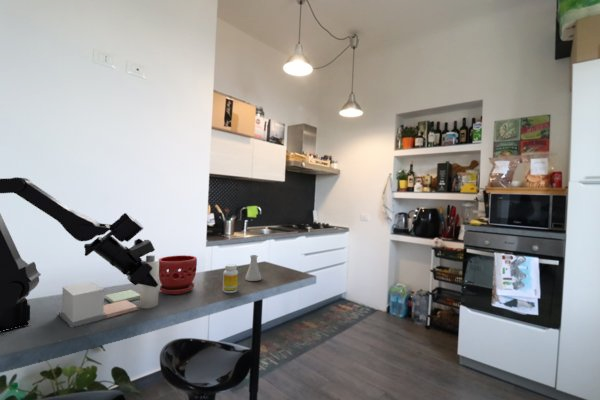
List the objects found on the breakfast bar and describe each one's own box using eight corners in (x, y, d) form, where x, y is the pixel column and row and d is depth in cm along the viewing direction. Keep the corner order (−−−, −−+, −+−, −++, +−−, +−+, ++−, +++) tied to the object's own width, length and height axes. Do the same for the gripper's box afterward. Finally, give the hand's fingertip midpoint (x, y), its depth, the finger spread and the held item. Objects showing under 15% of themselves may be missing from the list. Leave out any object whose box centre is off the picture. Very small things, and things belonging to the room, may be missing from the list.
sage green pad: (114, 304, 91) (114, 301, 91) (104, 298, 96) (105, 295, 96) (141, 298, 97) (141, 295, 97) (131, 292, 102) (131, 289, 102)
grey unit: (71, 327, 75) (72, 296, 75) (58, 314, 82) (59, 286, 82) (106, 318, 81) (107, 289, 81) (92, 306, 89) (92, 280, 88)
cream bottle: (144, 309, 88) (145, 258, 87) (137, 305, 91) (138, 255, 91) (161, 305, 92) (162, 255, 91) (153, 301, 95) (154, 253, 94)
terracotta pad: (106, 318, 81) (106, 314, 81) (96, 310, 86) (96, 306, 86) (137, 309, 87) (137, 306, 87) (126, 302, 92) (126, 299, 92)
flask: (242, 277, 125) (243, 254, 124) (258, 276, 128) (259, 253, 128) (247, 282, 118) (247, 258, 118) (264, 280, 121) (264, 257, 121)
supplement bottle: (221, 289, 108) (221, 264, 108) (235, 287, 111) (235, 262, 111) (224, 294, 104) (225, 267, 103) (239, 292, 106) (240, 266, 106)
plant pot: (203, 288, 109) (204, 256, 109) (175, 299, 97) (176, 263, 97) (178, 282, 114) (179, 252, 114) (148, 292, 103) (149, 258, 102)
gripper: (145, 235, 81) (184, 269, 89) (130, 228, 95) (164, 258, 103) (111, 267, 76) (155, 300, 84) (100, 255, 90) (139, 284, 98)
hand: (154, 283), depth 92 cm, fingers closed on cream bottle, 5 cm apart
